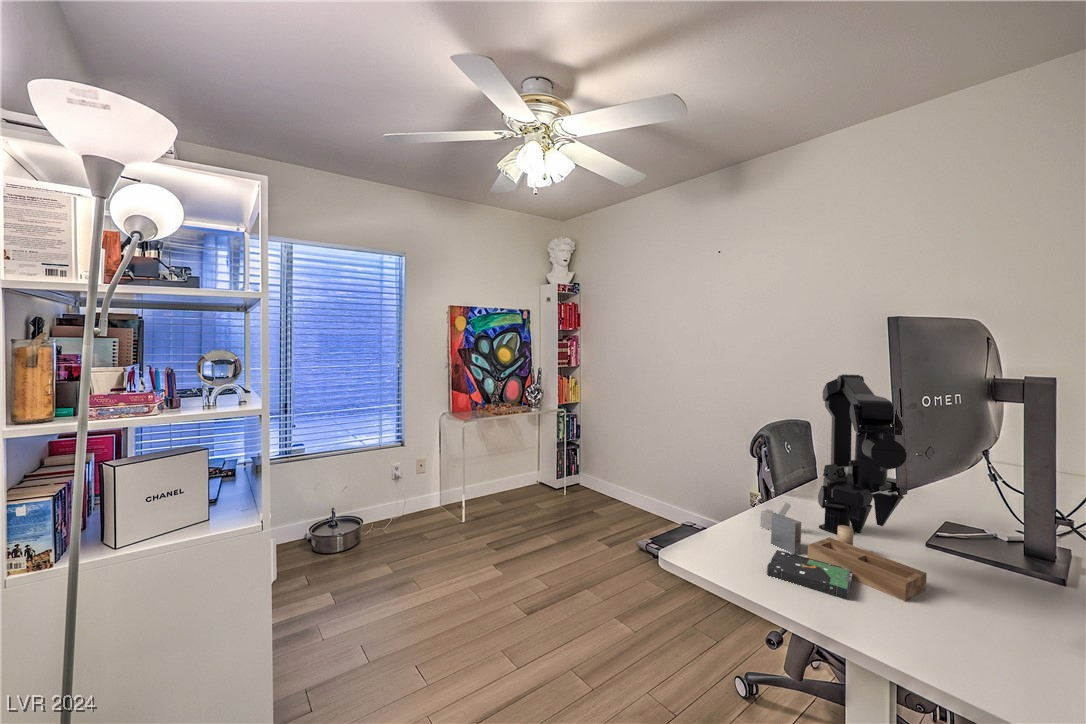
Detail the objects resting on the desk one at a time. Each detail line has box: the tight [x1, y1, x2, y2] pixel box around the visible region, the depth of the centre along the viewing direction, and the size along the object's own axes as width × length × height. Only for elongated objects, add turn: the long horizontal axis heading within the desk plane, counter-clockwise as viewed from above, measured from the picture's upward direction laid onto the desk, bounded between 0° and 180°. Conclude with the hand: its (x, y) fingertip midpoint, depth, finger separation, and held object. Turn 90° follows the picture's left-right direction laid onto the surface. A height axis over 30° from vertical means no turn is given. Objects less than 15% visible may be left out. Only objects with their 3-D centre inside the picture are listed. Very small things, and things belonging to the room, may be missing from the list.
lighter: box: [759, 501, 792, 531], centre depth 119 cm, size 7×2×8 cm, turn 57°
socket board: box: [807, 536, 928, 602], centre depth 97 cm, size 9×19×4 cm, turn 29°
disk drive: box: [766, 549, 854, 601], centre depth 95 cm, size 10×3×15 cm
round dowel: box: [836, 525, 855, 546], centre depth 107 cm, size 3×3×6 cm
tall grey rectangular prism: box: [770, 513, 802, 555], centre depth 109 cm, size 2×6×8 cm, turn 29°
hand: (868, 529), depth 95 cm, fingers open, 9 cm apart
